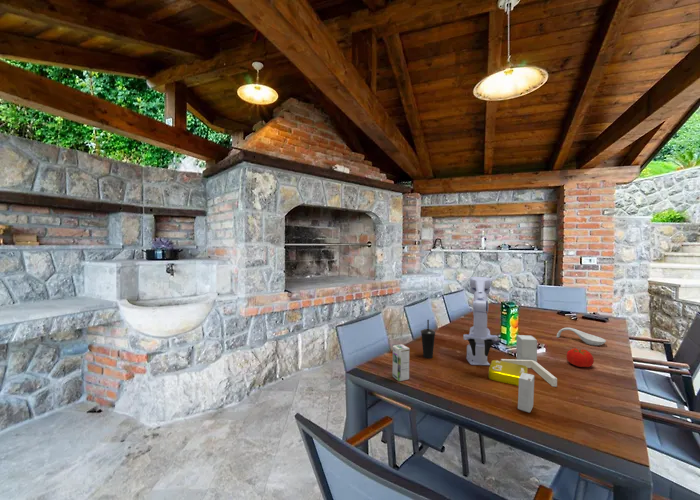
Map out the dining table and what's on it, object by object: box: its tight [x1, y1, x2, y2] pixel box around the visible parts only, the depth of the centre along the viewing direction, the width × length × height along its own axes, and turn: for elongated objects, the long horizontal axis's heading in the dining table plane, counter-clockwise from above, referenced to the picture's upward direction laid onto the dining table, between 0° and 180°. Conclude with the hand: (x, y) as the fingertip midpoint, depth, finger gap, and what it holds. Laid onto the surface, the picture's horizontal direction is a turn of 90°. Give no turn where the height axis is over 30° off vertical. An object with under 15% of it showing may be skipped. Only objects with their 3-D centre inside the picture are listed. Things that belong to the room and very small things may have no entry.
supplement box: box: [515, 334, 538, 363], centre depth 153 cm, size 7×7×13 cm
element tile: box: [488, 359, 529, 387], centre depth 137 cm, size 15×15×5 cm
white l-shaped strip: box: [500, 358, 558, 387], centre depth 138 cm, size 16×19×4 cm
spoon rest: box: [556, 327, 607, 347], centre depth 182 cm, size 24×12×7 cm, turn 44°
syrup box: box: [391, 344, 410, 382], centre depth 136 cm, size 6×6×14 cm
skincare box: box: [517, 372, 535, 413], centre depth 112 cm, size 6×4×12 cm
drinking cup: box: [420, 319, 436, 359], centre depth 160 cm, size 8×8×20 cm
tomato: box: [566, 347, 595, 368], centre depth 149 cm, size 11×11×8 cm
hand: (480, 355), depth 138 cm, fingers open, 5 cm apart
